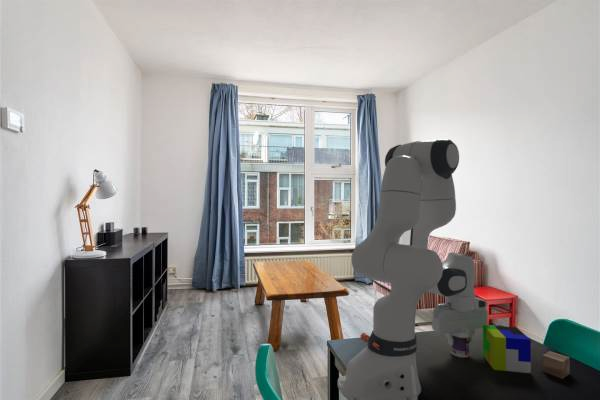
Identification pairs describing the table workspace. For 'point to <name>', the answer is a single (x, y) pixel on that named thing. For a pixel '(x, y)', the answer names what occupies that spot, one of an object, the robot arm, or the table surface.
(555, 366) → the walnut block
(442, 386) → the table surface
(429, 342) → the table surface
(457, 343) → the pill bottle
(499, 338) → the puzzle toy
